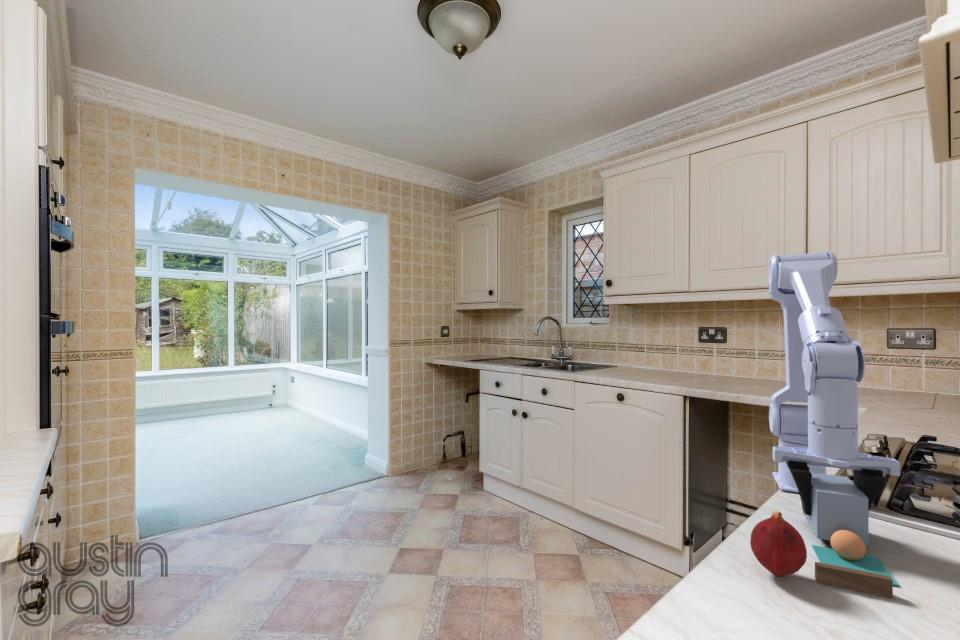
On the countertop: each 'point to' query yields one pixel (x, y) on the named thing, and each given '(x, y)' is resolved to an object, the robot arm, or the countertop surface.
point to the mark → (852, 562)
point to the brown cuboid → (854, 579)
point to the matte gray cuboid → (837, 507)
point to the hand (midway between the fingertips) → (832, 516)
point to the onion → (778, 546)
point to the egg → (848, 545)
